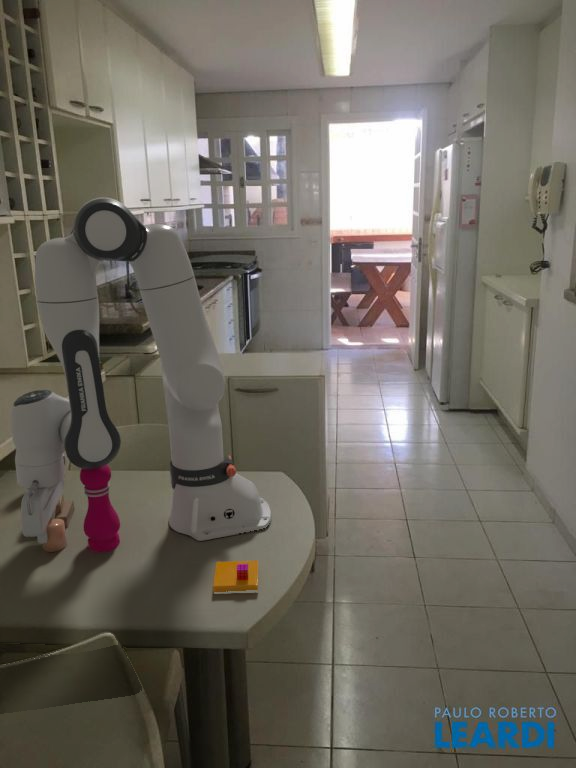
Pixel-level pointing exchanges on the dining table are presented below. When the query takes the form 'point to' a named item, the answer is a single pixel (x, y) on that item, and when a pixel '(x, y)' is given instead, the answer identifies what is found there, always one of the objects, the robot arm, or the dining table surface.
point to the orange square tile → (236, 576)
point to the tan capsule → (55, 536)
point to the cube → (60, 505)
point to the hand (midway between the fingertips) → (46, 534)
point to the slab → (66, 512)
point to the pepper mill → (100, 510)
